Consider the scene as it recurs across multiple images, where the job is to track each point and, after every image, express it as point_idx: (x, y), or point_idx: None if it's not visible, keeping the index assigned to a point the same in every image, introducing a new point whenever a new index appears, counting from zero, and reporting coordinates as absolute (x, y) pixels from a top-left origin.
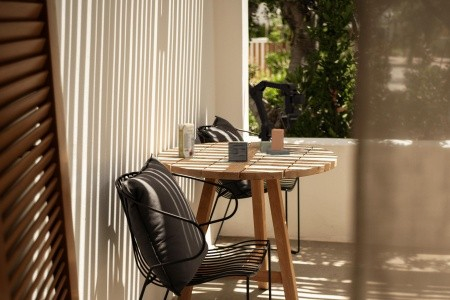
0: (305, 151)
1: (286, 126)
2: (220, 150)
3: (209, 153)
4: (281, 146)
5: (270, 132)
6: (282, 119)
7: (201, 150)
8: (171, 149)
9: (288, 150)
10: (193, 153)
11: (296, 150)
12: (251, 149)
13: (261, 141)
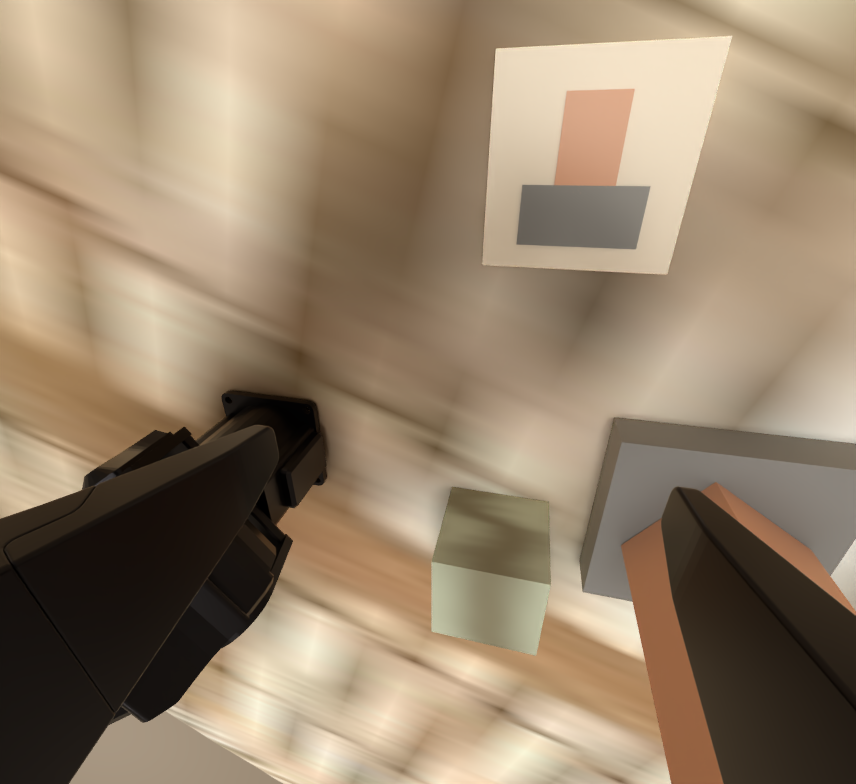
0: (715, 91)
1: (242, 466)
2: (350, 684)
3: (458, 762)
4: (835, 588)
5: (242, 556)
6: (75, 754)
7: (333, 730)
8: (283, 771)
9: (852, 474)
10: None
11: (605, 228)
12: (335, 548)
13: (432, 616)
